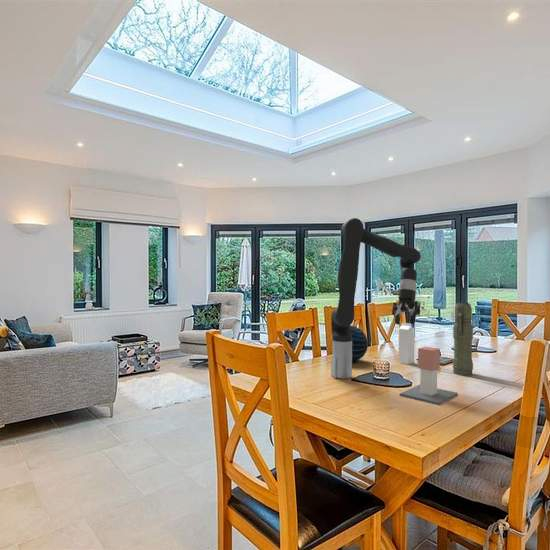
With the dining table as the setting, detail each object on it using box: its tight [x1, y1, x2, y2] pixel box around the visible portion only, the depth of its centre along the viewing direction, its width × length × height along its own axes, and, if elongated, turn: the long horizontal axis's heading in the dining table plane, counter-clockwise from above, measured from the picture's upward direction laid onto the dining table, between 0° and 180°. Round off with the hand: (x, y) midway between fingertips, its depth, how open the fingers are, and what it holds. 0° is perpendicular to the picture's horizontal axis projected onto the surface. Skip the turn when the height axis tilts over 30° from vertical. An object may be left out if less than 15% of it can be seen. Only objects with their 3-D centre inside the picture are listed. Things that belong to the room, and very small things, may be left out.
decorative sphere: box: [331, 325, 369, 363], centre depth 220 cm, size 20×20×20 cm
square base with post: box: [399, 368, 458, 406], centre depth 159 cm, size 18×16×18 cm
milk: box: [398, 322, 415, 365], centre depth 217 cm, size 6×6×22 cm
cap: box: [417, 346, 441, 371], centre depth 159 cm, size 6×6×8 cm
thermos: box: [452, 301, 474, 377], centre depth 194 cm, size 9×12×35 cm
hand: (404, 324), depth 181 cm, fingers open, 8 cm apart
